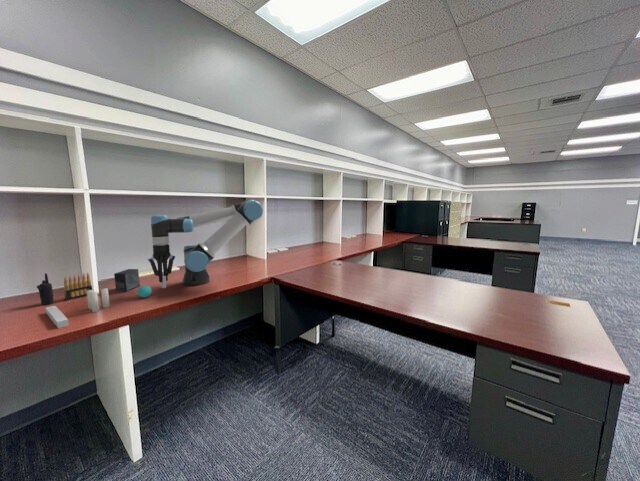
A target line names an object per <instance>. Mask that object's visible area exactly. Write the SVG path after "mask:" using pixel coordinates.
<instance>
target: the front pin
mask: <svg viewBox="0 0 640 481" xmlns="http://www.w3.org/2000/svg"><path fill="white" fill-rule="evenodd" d="M100 292H101V302H102V308H103V309H105V308H109V307H111V306H110V296H109V288H106V287H105V288H102V289H100Z"/></svg>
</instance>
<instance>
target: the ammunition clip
mask: <svg viewBox="0 0 640 481" xmlns="http://www.w3.org/2000/svg"><path fill="white" fill-rule="evenodd" d="M68 277H69V278H67V276H65V277H64V279H63V281H64V285H63V286H64V301H66V302H67V301H71V299H72V300H76V299H80V297H81V298H85V297H87V291H88V290H93V286H92V280H91V277H90V274H89V272H87V273H86V275H85V273H82V274H81V275H80V274H78V275H77V276H76V275H75V274H73V278H72V276H71V275H69V276H68Z"/></svg>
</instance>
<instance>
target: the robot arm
mask: <svg viewBox="0 0 640 481" xmlns="http://www.w3.org/2000/svg"><path fill="white" fill-rule="evenodd" d="M263 213H264V209H263V206H262V204H261V202H259V201H257V200H255V199H248V200H244V201H242V202H238V203H236V204H232V205H231V206H229V207H224V208H219V209H215V210H210V211H205V212H202V213H201V212H200V213H196V214H190V215H187V216H184V217H183V216H182V217H177V218H169V217H168V215H167V214H155V215H154V214H153V215H152V216H151V217H150V222H151V224H150V226H151V239H152V240H151V242H152V256H151V257H150V258H147V261H148V262H149V263H150V265H151V269H152V271H153V275H154V276H156V277H158V281H159V283H160V287H161V288H162V289H166V288H167V282H168V280H169V279H168V276H169V275H170V274H172V270H173V264H174V260H175V258H176V256H175V255H172V253H171V252H170V251H171V250H170V238H169V235H170V234H174V233H176V234H178V233H186V234H187V233H193V231H194V228H198V227H203V226H208V225H212V224H217V223H221V222H224V221H226V222H225V223H224V224H223V225H222V226H221V227H219V229H217V231H215V232H214V233H213V234H212V235H210V237H209V238H208V239H207V240H205V241H204V242H202V243H198V244H196V245H185V246H184V247H183V258H184V260H183V263H184V274H183V276H182V277H183V278H182V284H183V285H184V286H199V285H205V284H207V283H209V282H210V281H211V280H210V279H211V277H210V275H209V272H208V271H207V267H208V265H209V263H210V262H211V261H212V260H214V258H215V254H216V253H217V252H218V251H219V250H221V249H222V248H223V247H224V246H225V245H226V244H227V243H228V242H229V241H230V240H232V239H233V237H235V236H236V235H237V234H238V233H239V232H240V231H242V229H243V228H244V227H246V226H250V225H252V223H254V222H255V221H257V220H259V219H260V218H261V217H262V215H263ZM155 261H156V263H155ZM156 264H157V265H156Z"/></svg>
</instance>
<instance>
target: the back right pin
mask: <svg viewBox="0 0 640 481" xmlns="http://www.w3.org/2000/svg"><path fill="white" fill-rule="evenodd" d="M92 292H95V290H94V289H92V290H88V291H87V296H86V297H87V304H88V305H87V306H88V310H91V311H92V307H91V298H90V293H92Z"/></svg>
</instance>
